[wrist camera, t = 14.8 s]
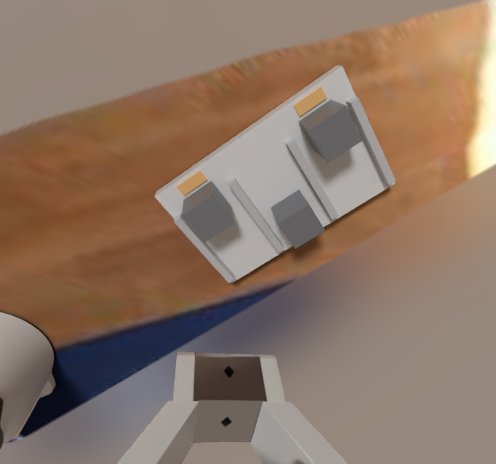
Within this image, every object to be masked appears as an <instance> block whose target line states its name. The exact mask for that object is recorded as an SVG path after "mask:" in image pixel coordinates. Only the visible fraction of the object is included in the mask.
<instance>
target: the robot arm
mask: <svg viewBox="0 0 496 464" xmlns="http://www.w3.org/2000/svg"><path fill="white" fill-rule="evenodd" d="M53 363H54V353H53V349H52V347H51V345H50V343H49V341H48V340H47V338H46V337H45V336H44V335H43V334H42V333H41V332H40V331H39V330H38V329H36V328H35V327H34V326H32V325H31V324H29V323H27V322H26V321H24V320H22V319H19V318H17V317H15V316H12V315H9V314H5V313H2V312H0V449H1V447H2V445H3V444H4V443H6V442H8V441H10V440H11V439H15V438H16V437H17V436H18V435H19V433H20V432H21V430H22V428H23V427H24V425H25V423H26V421H27V419H28V418H29V416H30V414H31V412H32V411H33V409H34V407H35V405H36V403H37V401H38V400H39V398H41V397H44V396H46V395H49V394H50V393H51V392H52V391H53V389H54V387H55V380H54V377H53V375H52V367H53ZM198 442H199V443H200V442H251V445H252V447H253V448H254V450H255V452H256V453H257V455H258V456H259V458H260V460H261V461H262V463H263V464H347V463H346V462H345V461H344V459H343V458H341V456H340V455H339V454H338V453H337V452H336V451H335V450H334V449H333V448H332V446H331V445H330V444H329V443H328V442H327V441H326V440H325V439H324V438H323V437H322V436H321V435H320V433H319V432H318V431H317V430H316V429H315V428H314V427H313V426H312V425H311V424H310V423H309V421H308V420H307V419H306V418H305V417H304V416H303V415H302V414H301V413H300V412H299V410H298V409H296V407H295V406H294V405H293V404H292V403H291V402H286V400H285V396H284V391H283V387H282V382H281V378H280V374H279V369H278V365H277V361H276V357H275V356H274V355H256V354H214V353H198V352H195V353H192V352H178V354H177V363H176V373H175V382H174V392H173V401H167V402H166V404H165V405H164V406H163V407H162V409H161V410H160V411H159V412H158V414H157V415H156V416H155V418H154V419H153V420H152V421H151V422H150V424H149V425H148V426H147V427H146V429H145V430H144V431H143V432H142V434H141V435H140V436H139V437H138V438H137V440H136V441H135V442H134V443H133V445H132V446H131V447H130V448H129V450H128V451H127V452H126V453H125V455H124V456H123V457H122V458H121V460H120V461H119V462H118V463H117V464H182V462H183V461H184V459H185V457H186V455H187V454H188V452H189V450H190V449H191V447H192V445H193V443H198Z"/></svg>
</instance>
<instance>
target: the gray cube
mask: <svg viewBox="0 0 496 464" xmlns="http://www.w3.org/2000/svg"><path fill="white" fill-rule="evenodd" d="M182 217H183V218H184V220H185V221H186V222H187V223H188V224H189V225H190V226H191V228H192V229H193V230H194V231H195V232H196V233H197V234H198V236H199V237H200V238H201V239H202V240H203V241H204V243H205V242H206V241H208V240H209V239H211V238H212V237H214V236H215V235H217V234H219V233H220V232H222V231H223V230H225V229H226V228H228V227H229V226H231V225H232V224H234V218H233V212H232V207H231V205H230V204H229V203H228V201H227V200H226V199H225V197H224V196H223V195H222V193H221V192H220V191H219V190H218V188H217V187H216V186H215V184H214V183H213V182H212V181H210V182H209V183H207V184H206V185H204V186H203V187H201V188H200V189H198V190H197V191H195V192H194V193H193V194H191V195H190V196H188V197H187V198H185V199H184V200H183V208H182Z"/></svg>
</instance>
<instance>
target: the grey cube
mask: <svg viewBox="0 0 496 464" xmlns="http://www.w3.org/2000/svg"><path fill="white" fill-rule="evenodd" d="M299 123H300V125H301V127H302V129H303V130H304V132H305V134H306V136H307V138H308V139H309V141H310V143H311V145H312V146H313V148H314V150H315V152H316V153H317V154H319V155H320V156H321V157H322V158H323V159H324V160H325V161H326V162H327V163H329V162H330V161H332V160H333V159H335V158H337V157H338V156H340V155H341V154H343V153H344V152H346V151H347V150H349V149H350V148H352V147H354V146H355V145H357V144H358V143H360V142H361V141H363V140H362V138H361V136H360V134H359V132H358V130H357V127H356V125H355V123H354V121H353V119H352V117H351V115H350V113H349V111H348V108H347V106H346V105H343V104H341V103H338V102H336V101H333V100H329V101H328V102H326V103H325V104H323V105H322V106H320V107H319V108H318V109H316V110H315V111H313V112H312V113H310V114H309V115H307V116H306V117H304V118H303V119H301V120H300V121H299Z"/></svg>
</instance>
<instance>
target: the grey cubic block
mask: <svg viewBox="0 0 496 464" xmlns="http://www.w3.org/2000/svg"><path fill="white" fill-rule="evenodd" d="M271 209H272V212H273V214H274V216H275V219H276V221H277V223H278V225H279V226H280V228H281V229H282V231H283V232H284V234H285V235H286V236H287V238H288V239H289V241H290V242H291V244H292V245H293V246H294V248H295V249H296V248H298V247H299V246H301V245H303V244H304V243H306V242H308V241H309V240H311V239H312V238H314V237H316V236H317V235H319V234H321V233H322V232H324V231H325V229H324V227H323V226H322V224H321V223H320V221H319V219H318V218H317V216H316V215H315V213H314V211H313V210H312V208H311V206H310V205H309V203H308V202H307V200H306V199H305V197H304V196H303V195H302V193H301V192H300V190H297V191H296V192H294V193H293V194H291V195H289V196H288V197H286V198H285V199H283V200H282V201H280V202H279V203H277V204H275V205H274V206H272V207H271Z"/></svg>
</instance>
